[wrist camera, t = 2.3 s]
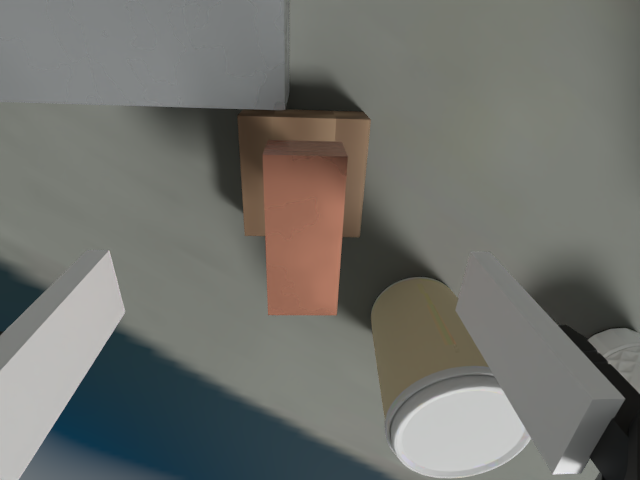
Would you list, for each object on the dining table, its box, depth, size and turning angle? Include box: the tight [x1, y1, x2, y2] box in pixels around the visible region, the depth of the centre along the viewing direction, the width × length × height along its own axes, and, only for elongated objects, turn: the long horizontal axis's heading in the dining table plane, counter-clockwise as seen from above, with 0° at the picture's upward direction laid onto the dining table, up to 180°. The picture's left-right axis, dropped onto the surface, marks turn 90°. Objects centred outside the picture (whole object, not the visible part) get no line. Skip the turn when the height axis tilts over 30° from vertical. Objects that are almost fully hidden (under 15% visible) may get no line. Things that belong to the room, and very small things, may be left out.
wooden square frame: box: [237, 109, 371, 237], centre depth 26 cm, size 8×8×3 cm
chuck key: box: [263, 140, 348, 315], centre depth 22 cm, size 3×8×12 cm, turn 178°
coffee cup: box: [371, 277, 531, 478], centre depth 28 cm, size 9×9×12 cm
